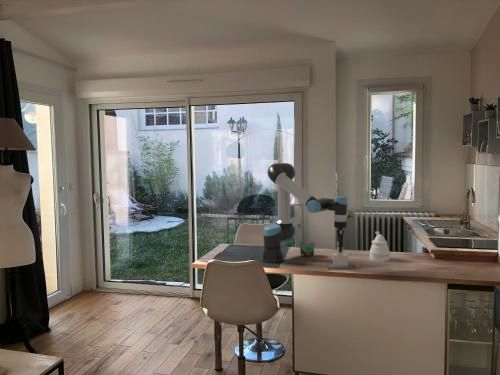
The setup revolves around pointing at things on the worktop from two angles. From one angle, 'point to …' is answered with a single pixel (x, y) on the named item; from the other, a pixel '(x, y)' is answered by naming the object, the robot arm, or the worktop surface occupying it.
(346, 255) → the card box
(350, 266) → the rubber mat
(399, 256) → the worktop surface
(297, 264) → the worktop surface
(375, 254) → the honey pot
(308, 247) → the food container
